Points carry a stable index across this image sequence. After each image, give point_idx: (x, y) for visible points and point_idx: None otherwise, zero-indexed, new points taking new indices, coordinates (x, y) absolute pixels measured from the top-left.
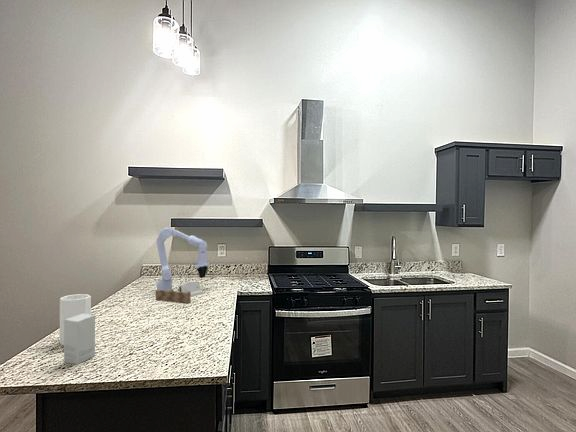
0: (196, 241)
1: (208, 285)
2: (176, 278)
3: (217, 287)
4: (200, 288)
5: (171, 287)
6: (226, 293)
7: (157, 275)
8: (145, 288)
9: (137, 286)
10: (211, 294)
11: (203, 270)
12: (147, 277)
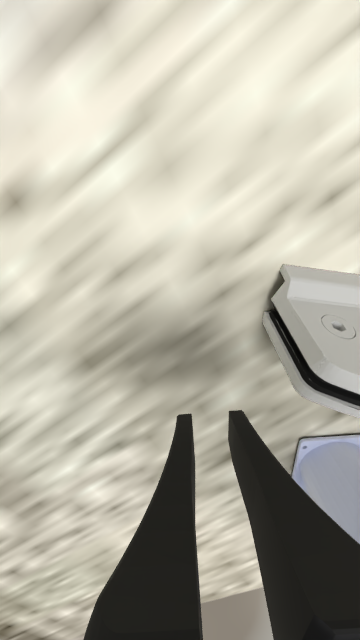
0: None
1: (8, 409)
2: (10, 584)
3: (7, 315)
4: (298, 311)
5: (354, 475)
6: (179, 8)
7: (26, 631)
8: (250, 555)
9: (228, 583)
10: (286, 173)
11: (310, 539)
12: (77, 629)
